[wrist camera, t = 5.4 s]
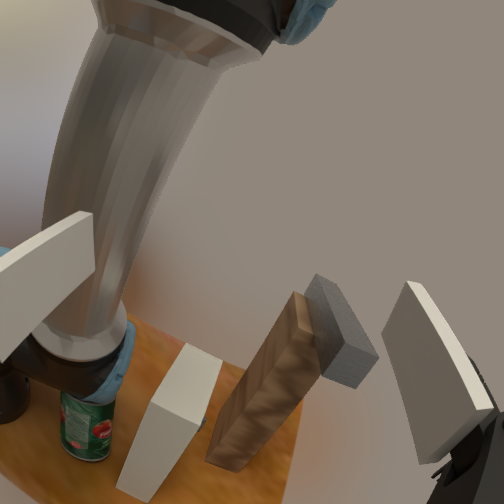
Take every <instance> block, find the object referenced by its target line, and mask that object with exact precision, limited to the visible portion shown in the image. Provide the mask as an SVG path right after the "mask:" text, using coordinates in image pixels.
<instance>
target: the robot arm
mask: <svg viewBox="0 0 504 504" xmlns="http://www.w3.org/2000/svg"><path fill="white" fill-rule="evenodd" d="M336 1H337V0H91V2H92V4H93V7H94V10H95V13H96V16H97V18H98V29H97V31H96V33H95V35H94V37H93V39H92V41H91V44H90V46H89V48H88V50H87V53H86V55H85V58H84V60H83V62H82V65H81V67H80V70H79V72H78V75H77V77H76V80H75V83H74V86H73V88H72V91H71V94H70V97H69V100H68V103H67V106H66V110H65V113H64V116H63V119H62V123H61V127H60V130H59V134H58V138H57V142H56V146H55V150H54V154H53V159H52V163H51V168H50V173H49V178H48V184H47V189H46V196H45V202H44V210H43V218H42V225H41V232H40V233H38V234H37V235H35V236H34V237H32V238H30V239H28V240H27V241H25V242H24V243H22V244H20V245H19V246H17V247H15V248H14V249H12V250H10V249H8V248H5V247H1V246H0V424H2V423H7V422H10V421H13V420H15V419H17V418H18V417H19V416H21V415H22V414H23V413H24V411H25V410H26V408H27V406H28V404H29V400H30V381H29V377H30V378H33V379H35V380H37V381H39V382H41V383H44V384H46V385H48V386H51V387H53V388H56V389H58V390H61V391H63V392H66V393H68V394H71V395H73V396H76V397H77V398H79V399H81V400H84V401H92V402H95V403H99V404H105V403H108V402H110V401H111V400H112V399H113V398H114V397H115V395H116V394H117V392H118V391H119V389H120V386H121V384H122V381H123V376H124V375H125V373H126V371H127V369H128V366H129V363H130V359H131V356H132V352H133V347H134V342H135V334H136V330H135V327H134V325H133V323H132V322H131V321H129V320H127V314H126V310H125V307H124V305H123V302H122V301H121V297H122V294H123V291H124V287H125V285H126V282H127V279H128V276H129V273H130V270H131V268H132V265H133V262H134V259H135V257H136V254H137V251H138V249H139V246H140V243H141V241H142V238H143V236H144V233H145V231H146V228H147V225H148V223H149V221H150V218H151V216H152V214H153V211H154V208H155V206H156V204H157V202H158V199H159V197H160V195H161V192H162V190H163V188H164V186H165V183H166V181H167V179H168V176H169V175H170V173H171V170H172V168H173V166H174V164H175V162H176V160H177V158H178V156H179V153H180V151H181V149H182V147H183V145H184V143H185V141H186V139H187V137H188V135H189V133H190V131H191V129H192V128H193V126H194V124H195V122H196V120H197V118H198V116H199V114H200V112H201V110H202V109H203V107H204V105H205V103H206V101H207V99H208V98H209V96H210V94H211V92H212V91H213V89H214V87H215V85H216V84H217V82H218V80H219V78H220V77H221V75H222V74H223V73H224V72H225V71H226V70H228V69H229V68H232V67H235V66H239V65H242V64H246V63H250V62H254V61H257V60H260V58H261V57H262V55H263V54H264V53H265V51H266V50H267V48H268V46H269V45H270V44H271V42H272V40H275V41H277V42H278V43H280V44H287V45H295V44H298V43H300V42H301V41H303V40H304V39H305V38H306V37H307V36H309V34H310V33H311V32H312V31H313V30H314V29H315V28H316V27H317V26H318V24H319V23H320V22H321V20H322V18H323V17H324V15H325V13H326V11H327V9H328V8H330V7H332V6H333V5H334V4H335V2H336ZM381 335H382V338H383V341H384V343H385V346H386V349H387V352H388V355H389V358H390V361H391V364H392V367H393V370H394V373H395V376H396V380H397V383H398V386H399V389H400V393H401V396H402V399H403V403H404V406H405V410H406V413H407V417H408V421H409V424H410V428H411V432H412V436H413V440H414V444H415V448H416V452H417V456H418V461H419V464H420V465H422V464H429V463H436V462H438V461H440V460H441V459H442V458H443V457H445V456H446V455H447V454H448V453H449V452H450V454H451V458H452V459H451V460H450V461H449V462H448V463H447V464H445V465H444V466H443V467H442V468H440V469H439V470H438V471H436V472H435V473H434V474H433V476H432V477H431V478H433V479H434V478H435V477H436V476H437V475H439V474H440V473H442V474H441V476H440V478H439V479H438V480H437V484H436V486H435V489H434V490H433V492H432V494H431V496H430V498H429V500H428V502H427V504H504V412H501V413H500V411H499V409H498V407H497V405H496V403H495V401H494V399H493V397H492V395H491V393H490V391H489V389H488V387H487V385H486V383H484V379H483V377H482V375H480V374H479V373H480V372H479V370H478V368H477V366H476V365H475V363H474V361H473V360H472V359H471V358H470V357H469V356H468V355H467V354H466V353H465V352H464V350H463V348H462V347H461V345H460V343H459V341H458V340H457V338H456V336H455V335H454V333H453V332H452V330H451V328H450V327H449V325H448V324H447V322H446V320H445V319H444V317H443V316H442V314H441V313H440V311H439V310H438V308H437V306H436V305H435V303H434V302H433V300H432V299H431V297H430V296H429V295H428V293H427V292H426V290H425V289H424V287H423V286H422V285H421V284H420V283H415V282H411V281H406V282H405V284H404V287H403V289H402V291H401V294H400V296H399V298H398V300H397V302H396V304H395V307H394V309H393V311H392V313H391V315H390V317H389V319H388V321H387V323H386V325H385V327H384V329H383V331H382V333H381Z"/></svg>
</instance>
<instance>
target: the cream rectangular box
mask: <svg viewBox="0 0 504 504" xmlns="http://www.w3.org/2000/svg"><path fill="white" fill-rule="evenodd" d="M222 362H223V361H222V360H220V359H218V358H216V357H214V356H212V355H210V354H208V353H206V352H204V351H202V350H200V349H198V348H196V347H194V346H192V345H190V344H188V343H186V344H185V346H184V347H183V349H182V350H181V352H180V354H179V355H178V357H177V358H176V360H175V362H174V363H173V365H172V366H171V368H170V370H169V371H168V373H167V374H166V376H165V378H164V379H163V381H162V383H161V384H160V386H159V387H158V389H157V391H156V392H155V394H154V395H153V397H152V399H151V400H150V402H149V405H148V407H147V410H146V412H145V414H144V417H143V419H142V421H141V424H140V426H139V429H138V431H137V434H136V436H135V439H134V441H133V443H132V446H131V448H130V451H129V453H128V456H127V458H126V461H125V463H124V466H123V469H122V471H121V474H120V476H119V479H118V481H117V484H116V487H115V488H117V489H119V490H121V491H123V492H125V493H126V494H128V495H130V496H132V497H134V498H137V499H139V500H141V501H143V502H145V503H147V504H148V502H149V501H150V500H151V498H152V497H153V495H154V494H155V493H156V491H157V490H158V488H159V487H160V485H161V484H162V483H163V481H164V480H165V478H166V477H167V475H168V474H169V472H170V471H171V469H172V468H173V466H174V465H175V464H176V462H177V461H178V459H179V458H180V456H181V455H182V453H183V452H184V450H185V449H186V447H187V446H188V444H189V443H190V441H191V439H192V438H193V436H194V435H195V433H196V432H199V431H200V429H201V428H202V426H203V425H204V423H205V422H206V419H207V418H205V417H204V414H205V411H206V408H207V405H208V403H209V400H210V397H211V394H212V391H213V388H214V385H215V383H216V380H217V377H218V374H219V371H220V368H221V365H222Z"/></svg>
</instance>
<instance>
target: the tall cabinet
mask: <svg viewBox="0 0 504 504" xmlns="http://www.w3.org/2000/svg"><path fill="white" fill-rule="evenodd" d="M320 375H321V370H320V365H319V360H318V355H317V351H316V346H315V341H314V337H313V332H312V327H311V323H310V318H309V314H308V309H307V305H306V301H305V296H303V295H301V294H299V293H297V292H295V291H293V293H292V295H291V297H290V298H289V300H288V302H287V304H286V305H285V307H284V309H283V311H282V312H281V314H280V316H279V317H278V319H277V321H276V322H275V324H274V326H273V328H272V329H271V331H270V332H269V334H268V336H267V337H266V339H265V341H264V343H263V344H262V346H261V348H260V349H259V351H258V352H257V354H256V356H255V357H254V359H253V360H252V362H251V364H250V365H249V367H248V368H247V370H246V372H245V373H244V375H243V376H242V378H241V380H240V381H239V383H238V384H237V386H236V387H235V389H234V391H233V392H232V394H231V395H230V397H229V398H228V400H227V401H226V403H225V404H224V406H223V407H222V409H221V410H220V412H219V415H218V418H217V422H216V425H215V429H214V432H213V436H212V439H211V442H210V446H209V449H208V453H207V456H206V459H205V462H208V463H210V464H213V465H216V466H218V467H221V468H224V469H226V470H229V471H232V472H235V473H238V472H239V471H240V470H241V469H242V468H243V467H244V466H245V465H246V464H247V463H248V462H249V460H250V459H251V458H252V457H253V456H254V455H255V454H256V453H257V452H258V451H259V450H260V449H261V447H262V446H263V445H264V444H265V443H266V442H267V441H268V440H269V439H270V437H271V436H272V435H273V434H274V433H275V432H276V430H277V429H278V428H279V427H280V426H281V425H282V423H283V422H284V421H285V420H286V419H287V417H288V416H289V415H290V414H291V413H292V411H293V410H294V409H295V408H296V406H297V405H298V404H299V403H300V401H301V400H302V399H303V397H304V396H305V394H307V392H308V391H309V390H310V388H311V387H312V386H313V384H314V383H315V382H316V380H317V379H318V378H319V376H320Z"/></svg>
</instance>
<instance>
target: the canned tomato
mask: <svg viewBox="0 0 504 504" xmlns="http://www.w3.org/2000/svg"><path fill="white" fill-rule="evenodd" d="M116 395H117V394H116ZM116 395H115V397H114V398H113V399H112V400H111V401H110V402H108V403H105V404H99V403H95V402H92V401H84V400H81V399H79V398H77V397H76V396H73V395H71V394H68V393H66V392H63V391H61V397H60V399H61V401H60V429H61V431H60V432H61V444H62V446H63V447H64V449H65V450H66V451H67V452H68V453H69V454H71V455H72V456H74V457H76V458H78V459H81V460H85V461H99V460H102V459H104V458H106V457H107V456H108V455H109V453H110V448H111V447H110V444H111V434H112V425H113V415H114V407H115V398H116Z"/></svg>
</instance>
